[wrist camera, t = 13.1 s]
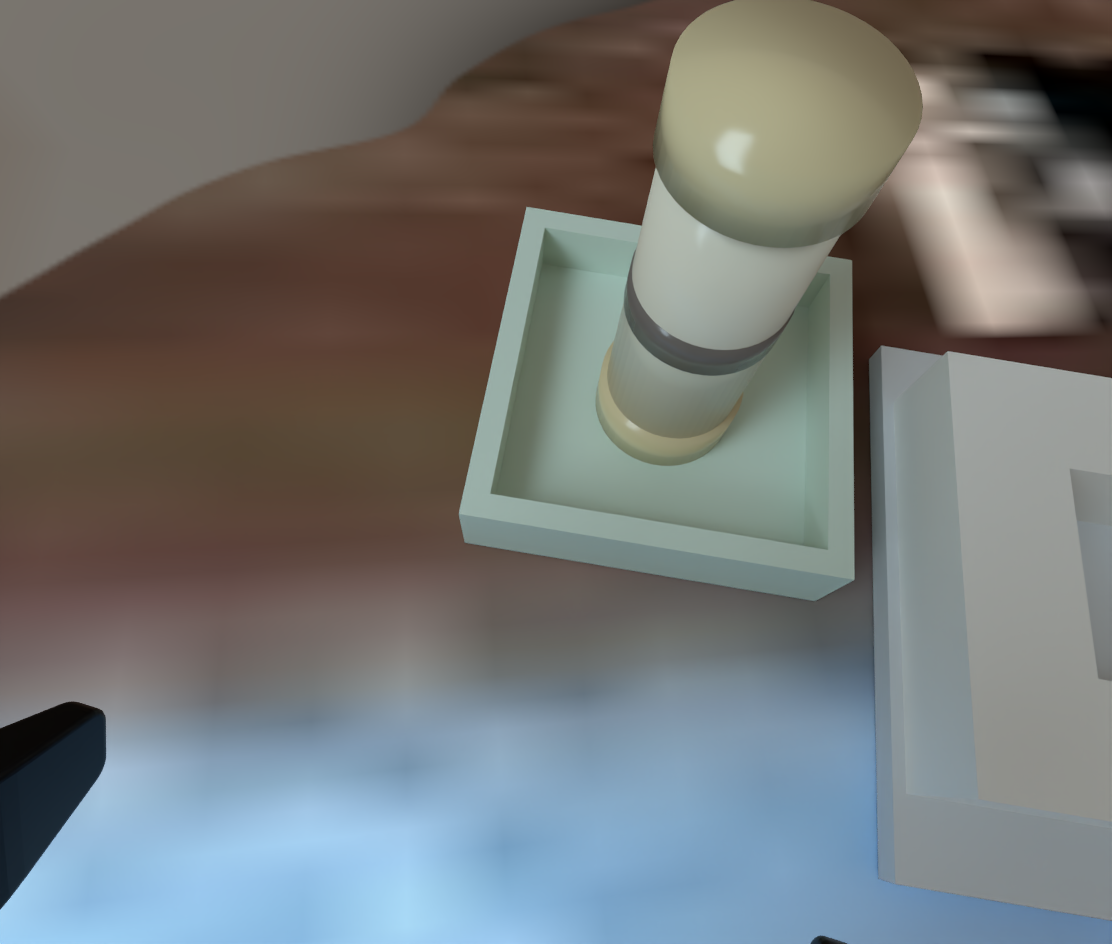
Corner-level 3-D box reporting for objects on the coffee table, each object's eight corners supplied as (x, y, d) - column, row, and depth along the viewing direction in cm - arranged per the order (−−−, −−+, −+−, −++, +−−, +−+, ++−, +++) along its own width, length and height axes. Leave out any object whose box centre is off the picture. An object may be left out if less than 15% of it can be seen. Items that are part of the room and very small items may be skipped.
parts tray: (815, 601, 24) (854, 579, 21) (464, 542, 24) (458, 513, 21) (819, 309, 29) (852, 260, 26) (525, 260, 29) (526, 206, 26)
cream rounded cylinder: (749, 445, 25) (969, 150, 13) (622, 481, 24) (731, 203, 12) (698, 333, 27) (850, -20, 15) (577, 364, 26) (634, 17, 14)
